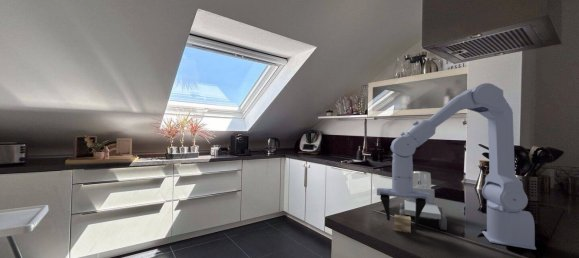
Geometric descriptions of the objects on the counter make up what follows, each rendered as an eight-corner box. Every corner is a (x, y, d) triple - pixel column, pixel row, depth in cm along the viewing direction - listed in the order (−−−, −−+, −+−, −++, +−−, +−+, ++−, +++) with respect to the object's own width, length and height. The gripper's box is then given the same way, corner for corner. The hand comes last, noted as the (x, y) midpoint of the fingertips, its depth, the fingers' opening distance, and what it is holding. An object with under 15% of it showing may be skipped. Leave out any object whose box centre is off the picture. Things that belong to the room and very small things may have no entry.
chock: (410, 227, 77) (410, 214, 77) (410, 233, 72) (410, 219, 72) (394, 225, 79) (394, 212, 79) (394, 230, 74) (394, 217, 74)
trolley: (440, 218, 85) (440, 189, 85) (446, 232, 73) (447, 198, 73) (399, 213, 91) (400, 185, 91) (399, 224, 79) (399, 193, 79)
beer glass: (415, 207, 98) (415, 170, 98) (434, 212, 93) (434, 172, 93) (407, 211, 94) (407, 171, 94) (426, 215, 88) (426, 174, 88)
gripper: (428, 176, 75) (428, 221, 75) (378, 172, 81) (378, 214, 81) (430, 180, 68) (430, 229, 68) (376, 176, 75) (376, 220, 74)
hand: (402, 221), depth 74 cm, fingers open, 7 cm apart
